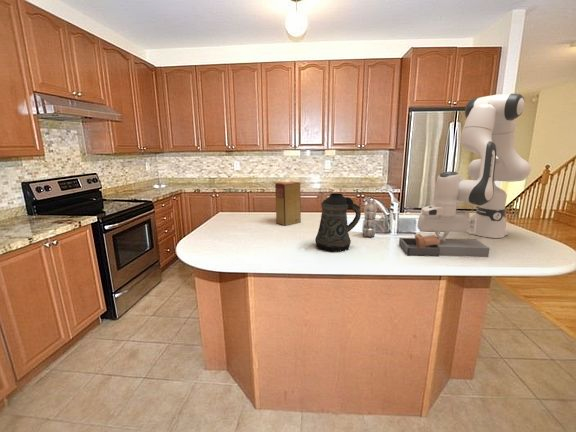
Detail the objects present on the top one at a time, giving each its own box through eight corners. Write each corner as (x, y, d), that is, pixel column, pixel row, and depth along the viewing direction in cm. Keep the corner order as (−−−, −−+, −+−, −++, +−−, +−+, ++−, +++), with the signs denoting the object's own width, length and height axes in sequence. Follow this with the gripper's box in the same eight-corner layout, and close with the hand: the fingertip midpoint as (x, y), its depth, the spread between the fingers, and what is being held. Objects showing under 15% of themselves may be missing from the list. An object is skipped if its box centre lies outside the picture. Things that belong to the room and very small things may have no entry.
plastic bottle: (360, 236, 154) (361, 198, 149) (366, 233, 159) (368, 196, 154) (371, 239, 149) (373, 200, 145) (377, 236, 154) (380, 198, 149)
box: (399, 244, 140) (399, 237, 139) (427, 245, 139) (428, 238, 138) (407, 255, 127) (407, 247, 126) (439, 256, 125) (439, 248, 124)
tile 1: (421, 246, 135) (416, 246, 136) (419, 233, 134) (414, 234, 134) (426, 250, 129) (420, 251, 130) (424, 237, 128) (418, 238, 129)
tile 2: (420, 241, 134) (420, 236, 134) (434, 239, 134) (434, 235, 133) (425, 245, 129) (425, 240, 128) (439, 244, 128) (439, 239, 127)
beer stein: (309, 243, 144) (309, 192, 138) (344, 238, 150) (345, 190, 145) (325, 254, 129) (326, 198, 123) (363, 248, 135) (365, 195, 130)
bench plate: (428, 246, 138) (429, 238, 137) (474, 247, 135) (475, 239, 134) (438, 255, 126) (439, 246, 125) (488, 256, 124) (489, 247, 123)
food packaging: (291, 219, 191) (291, 181, 185) (301, 222, 184) (301, 182, 178) (275, 223, 183) (274, 182, 177) (284, 226, 176) (284, 184, 170)
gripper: (466, 208, 129) (462, 239, 132) (417, 208, 131) (415, 237, 134) (473, 211, 123) (469, 243, 126) (422, 211, 125) (419, 242, 128)
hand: (440, 240), depth 130 cm, fingers closed
